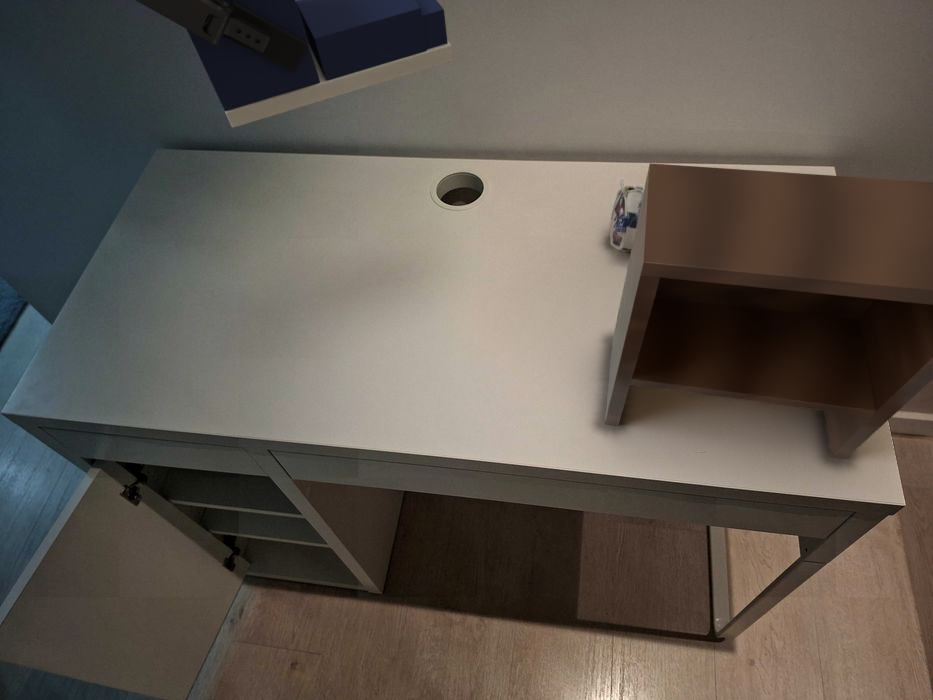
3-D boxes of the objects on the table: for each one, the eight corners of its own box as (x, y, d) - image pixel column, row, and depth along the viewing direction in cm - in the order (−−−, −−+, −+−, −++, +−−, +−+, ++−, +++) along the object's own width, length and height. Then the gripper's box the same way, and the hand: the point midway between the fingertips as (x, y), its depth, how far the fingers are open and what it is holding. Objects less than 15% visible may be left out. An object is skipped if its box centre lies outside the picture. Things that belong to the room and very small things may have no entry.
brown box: (604, 423, 70) (643, 262, 47) (612, 341, 76) (649, 163, 53) (845, 459, 65) (1021, 298, 42) (832, 367, 72) (978, 184, 48)
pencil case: (608, 265, 83) (617, 213, 75) (606, 222, 88) (614, 168, 80) (772, 267, 81) (800, 214, 73) (761, 223, 86) (786, 168, 77)
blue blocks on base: (232, 128, 55) (168, -10, 45) (219, 84, 59) (158, -50, 49) (453, 61, 58) (438, -81, 48) (425, 24, 63) (406, -113, 53)
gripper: (-29, -132, 46) (252, 22, 62) (-57, -25, 35) (295, 130, 51) (-8, -240, 43) (285, -47, 58) (-33, -160, 31) (338, 52, 47)
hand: (289, 35), depth 55 cm, fingers closed on blue blocks on base, 8 cm apart
